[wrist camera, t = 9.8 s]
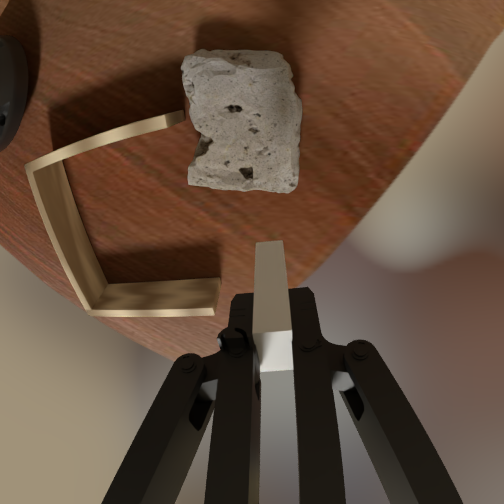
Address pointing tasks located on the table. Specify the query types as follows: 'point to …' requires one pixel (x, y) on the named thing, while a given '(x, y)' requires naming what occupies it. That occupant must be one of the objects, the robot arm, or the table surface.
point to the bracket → (81, 252)
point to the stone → (243, 120)
